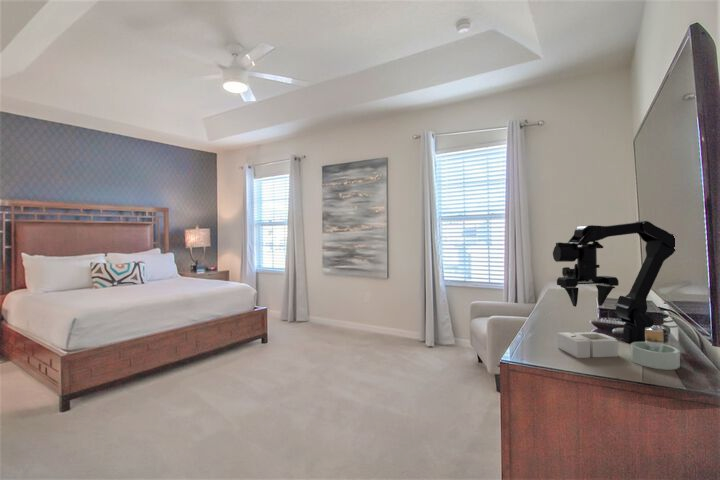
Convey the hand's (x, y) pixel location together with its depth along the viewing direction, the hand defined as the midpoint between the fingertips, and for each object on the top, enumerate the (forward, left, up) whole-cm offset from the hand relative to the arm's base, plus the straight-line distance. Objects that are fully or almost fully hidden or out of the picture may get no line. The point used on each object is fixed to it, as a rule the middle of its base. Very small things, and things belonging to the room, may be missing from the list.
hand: (587, 306), depth 123 cm
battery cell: (-5, +21, -12) cm, 25 cm away
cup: (-5, +21, -12) cm, 25 cm away
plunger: (+5, +10, -10) cm, 15 cm away
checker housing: (+7, +10, -13) cm, 17 cm away
